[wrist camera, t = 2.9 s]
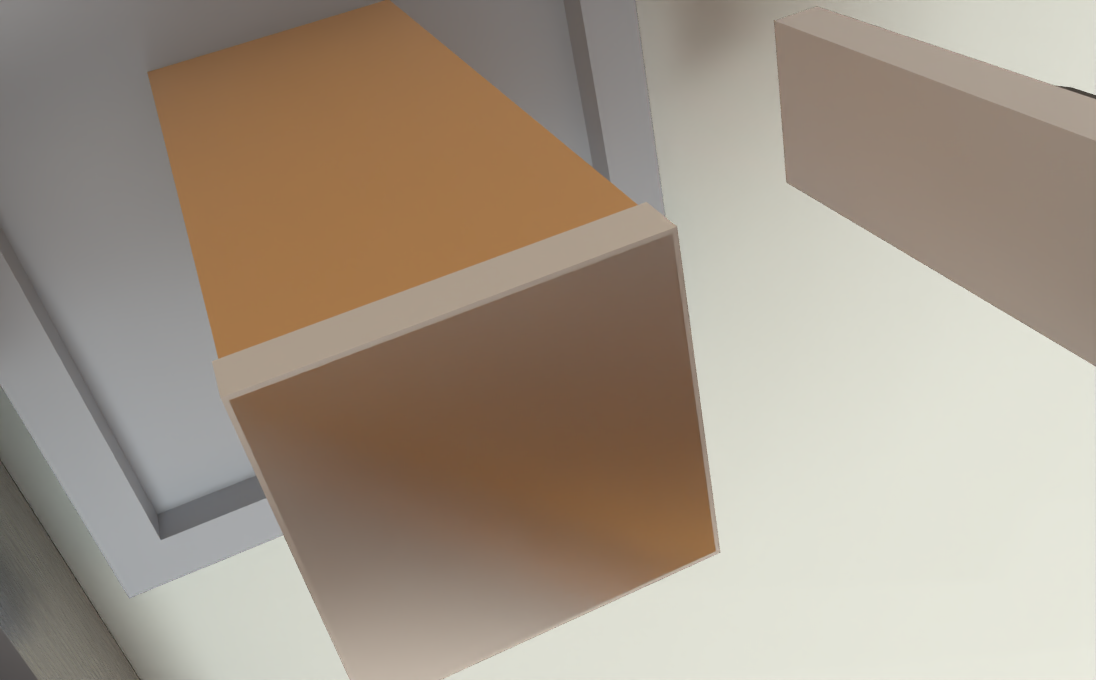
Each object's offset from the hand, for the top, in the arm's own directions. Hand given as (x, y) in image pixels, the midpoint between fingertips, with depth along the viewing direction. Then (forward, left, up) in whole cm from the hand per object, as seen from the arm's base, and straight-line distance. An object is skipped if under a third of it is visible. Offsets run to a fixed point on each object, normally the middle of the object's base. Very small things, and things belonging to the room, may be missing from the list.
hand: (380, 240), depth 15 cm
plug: (0, 0, -4) cm, 4 cm away
